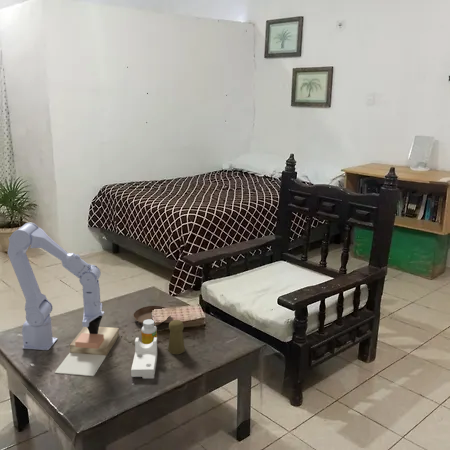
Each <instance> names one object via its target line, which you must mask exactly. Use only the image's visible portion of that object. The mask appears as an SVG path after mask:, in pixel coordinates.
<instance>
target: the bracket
mask: <svg viewBox="0 0 450 450" xmlns="http://www.w3.org/2000/svg"><path fill="white" fill-rule="evenodd" d="M134 351H135V352H134V356H133V360H132V365H131V369H130V375H131V377H132V378H134V377H135V378H141V377H142V379H155V373H156V367H157V363H158V362H157V360H158V336H157V337H154V340H153V342H152V343H150V344H143V343H142V341H141V340H140V337H135V339H134Z"/></svg>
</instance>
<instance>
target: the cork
mask: <svg viewBox="0 0 450 450" xmlns="http://www.w3.org/2000/svg"><path fill="white" fill-rule="evenodd" d="M184 325H185V324H184V323H183V321H182V320H180V319H173V320H171V321H170V322H169V324H168V329H169V331H170V332H169V339H168V347H167V353H170V354H171V355H180V354H183V353H184V352H185V350H186V347H185V340H184V332H183V330H184V327H185V326H184Z"/></svg>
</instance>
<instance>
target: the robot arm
mask: <svg viewBox="0 0 450 450" xmlns="http://www.w3.org/2000/svg"><path fill="white" fill-rule="evenodd" d="M8 242H9V243H8V247H7V255H8V258H9V261H10V263H11V266H12V268H13V270H14V274H15V276H16V278H17V282H18V283H19V286H20V289H21V291H22V294H23V296H24V298H25V306H24V311H25V321H24V323H23V324H22V328H21V334H22V343H23V346H22V349H25V350H37V351H49V350H50V349H51V348H52V347H53V345H55V343H56V342H57V341H58V337H53V327H52V318H51V313H52V311H53V304H52V302H51V301H49V299H48V298H47V296H46V294H44V293H42V292H41V290H40V287H39V284H38V281H37V279H36V276H35V273H34V271H33V268H32V266H31V263H30V260H29V257H28V255H27V252H28V250H29V248H30V249H37V248H38V249H39V248H41V249H42V250H44V251H46V252H47V253H48V254H50V255H52V256H53V257H55V258H56V259H58V260H59V261H61V266H62V267H63V268H64V269H66V270H67V271H68V272H70V274H72V275H74V277H76V278H77V279H78V280H79V283H80V285H81V286H82V299H83V318H82V321H81V324H82V326H81V327H82V328H84V327H87V328H88V330H89V333H90V334H98V330H99V327H100V324H101V320H102V319H103V316H104V315H105V311H102V309H103V303H102V302H101V292H100V291H101V288H100V280H99V279H100V278H101V269H100V268H99V267H98V266H97V265H94V264H91V263H88V262H86V261H85V260H84V259H82V258H81V255H80V254H79V253H75V252H67V251H66V250H65V249H64V248H63V247H62V246H61V245H59V244H58V243H57V242H56V241H54V240H53V238H51V237H50V236H49V235H48V234H47V233H46V231H45V230H44V229H43V228H41V227H39V225H37V224H36V223H35V222H30V221H29V222H26V223H24V224H23V225H22V226H20V227H18V229H16V230H15V231H13V232H12V233H11V235H10V236H9V237H8Z"/></svg>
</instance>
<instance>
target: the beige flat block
mask: <svg viewBox="0 0 450 450" xmlns="http://www.w3.org/2000/svg"><path fill="white" fill-rule="evenodd" d="M81 333H88V334H90V333H89V330H88V328H87V327H82V329H81V330H80V332H79V333H77V334H76V336H75V338H74V339H73V340H72V341H71V343H70V344H69V353H80V354H93V355H106V356H108V354H109V353H110V351H111V350H112V347H113V346H114V345H115V343H116V341H117V340H118V338H119V337H120V328H119V327H108V326H99V330H98V334H103V335H104V340H103V342H102V344H101V345H100V347H99V348H98V349H96V348H81V347H76V346H75V341H76V340H77V339H78V337H79V336H80V335H81Z"/></svg>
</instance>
